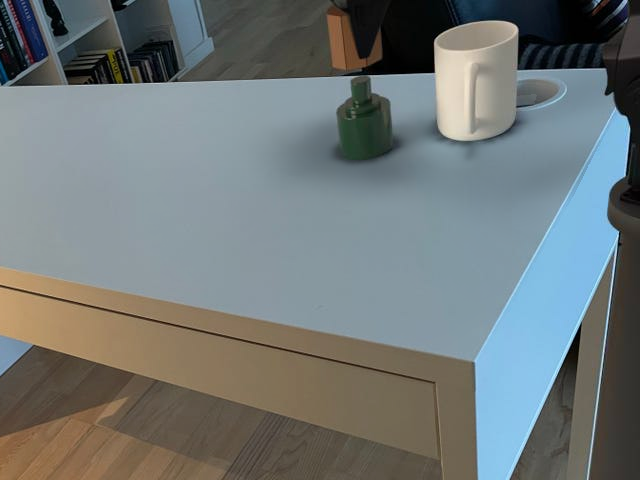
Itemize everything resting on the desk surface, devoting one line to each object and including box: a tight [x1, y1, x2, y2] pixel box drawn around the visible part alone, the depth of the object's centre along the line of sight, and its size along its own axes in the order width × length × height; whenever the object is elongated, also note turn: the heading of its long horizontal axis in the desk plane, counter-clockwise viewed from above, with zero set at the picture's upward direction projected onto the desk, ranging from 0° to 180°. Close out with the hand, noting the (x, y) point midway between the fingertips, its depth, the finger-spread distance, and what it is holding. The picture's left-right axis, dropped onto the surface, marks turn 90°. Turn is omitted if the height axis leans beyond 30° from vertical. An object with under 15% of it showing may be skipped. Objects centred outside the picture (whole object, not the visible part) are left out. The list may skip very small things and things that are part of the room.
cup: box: [433, 20, 519, 142], centre depth 83 cm, size 8×12×10 cm
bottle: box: [335, 75, 394, 160], centre depth 88 cm, size 6×6×8 cm
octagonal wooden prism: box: [326, 4, 383, 71], centre depth 82 cm, size 5×5×6 cm
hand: (357, 49), depth 83 cm, fingers closed on octagonal wooden prism, 5 cm apart
